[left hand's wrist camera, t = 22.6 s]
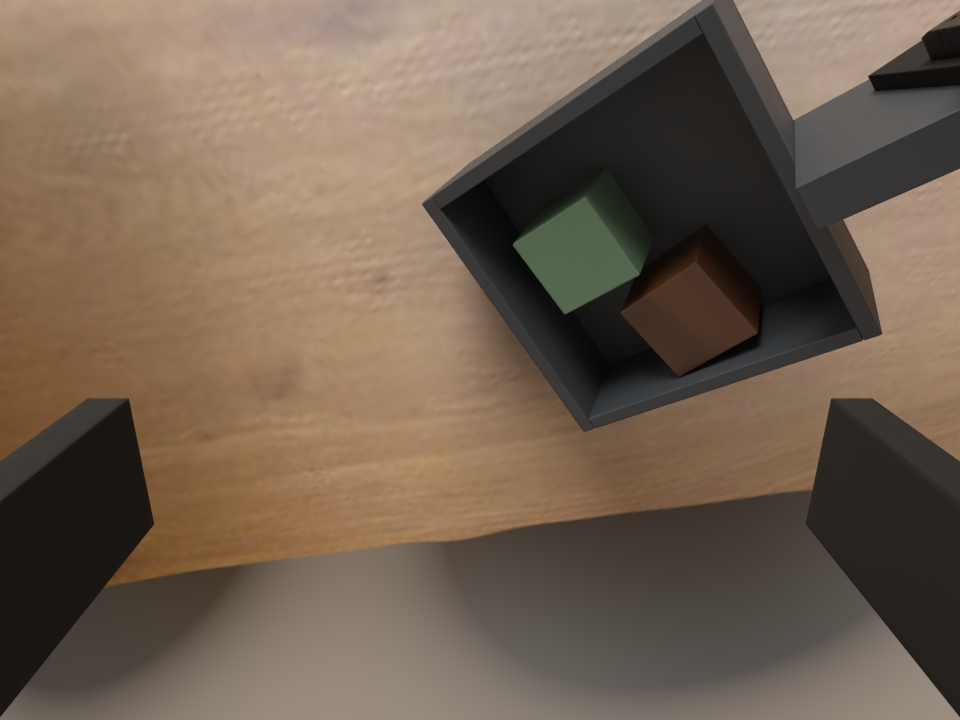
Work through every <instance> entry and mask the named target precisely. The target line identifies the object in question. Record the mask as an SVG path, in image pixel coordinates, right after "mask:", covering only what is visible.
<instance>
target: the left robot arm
mask: <svg viewBox="0 0 960 720" xmlns="http://www.w3.org/2000/svg"><path fill="white" fill-rule="evenodd" d="M153 525H154V521H153V516H152V511H151V506H150V501H149V496H148V491H147V487H146V482H145V477H144V472H143V467H142V462H141V457H140V452H139V447H138V442H137V437H136V432H135V427H134V422H133V417H132V413H131V408H130V403H129V399H86V400H85V401H84V402H82V403H81V404H79V405H78V406H77V407H75V408H74V409H73V410H71V411H70V412H68V413H67V414H66V415H64V416H63V417H61V418H60V419H59V420H57V421H56V422H54V423H53V424H52V425H50V426H49V427H48V428H46V429H45V430H43V431H42V432H41V433H39V434H38V435H36V436H35V437H34V438H32V439H31V440H30V441H28V442H27V443H25V444H24V445H23V446H21V447H20V448H18V449H17V450H16V451H14V452H13V453H11V454H10V455H9V456H7V457H6V458H5V459H3V460H2V461H0V717H1V715H2V714H3V713H4V712H5V710H6V709H7V708H8V707H9V705H10V704H11V703H12V702H13V700H14V699H15V698H16V697H17V695H18V694H19V693H20V692H21V690H22V689H23V688H24V687H25V685H26V684H27V683H28V681H29V680H30V679H31V678H32V676H33V675H34V674H35V673H36V672H37V670H38V669H39V668H40V666H41V665H42V664H43V663H44V661H45V660H46V659H47V658H48V656H49V655H50V654H51V653H52V651H53V650H54V649H55V648H56V646H57V645H58V644H59V643H60V641H61V640H62V639H63V638H64V636H65V635H66V634H67V633H68V631H69V630H70V629H71V628H72V626H73V625H74V624H75V623H76V621H77V620H78V619H79V618H80V616H81V615H82V614H83V613H84V611H85V610H86V609H87V608H88V606H89V605H90V604H91V603H92V601H93V600H94V599H95V598H96V596H97V595H98V594H99V593H100V591H101V590H102V589H103V588H104V586H105V585H106V584H107V583H108V581H109V580H110V579H111V578H112V576H113V575H114V574H115V573H116V571H117V570H118V569H119V568H120V566H121V565H122V564H123V562H124V561H125V560H126V559H127V557H128V556H129V555H130V554H131V552H132V551H133V550H134V549H135V547H136V546H137V545H138V544H139V542H140V541H141V540H142V539H143V537H144V536H145V535H146V534H147V532H148V531H149V530H150V529H151V527H152V526H153ZM806 525H807V526H808V527H809V529H810V530H811V531H812V532H813V534H814V535H815V536H816V537H817V539H818V540H819V541H820V542H821V544H822V545H823V546H824V547H825V549H826V550H827V551H828V552H829V554H830V555H831V556H832V557H833V559H834V560H835V561H836V562H837V564H838V565H839V566H840V568H841V569H842V570H843V571H844V573H845V574H846V575H847V576H848V577H849V579H850V580H851V581H852V583H853V584H854V585H855V586H856V588H857V589H858V590H859V591H860V592H861V594H862V595H863V596H864V598H865V599H866V600H867V601H868V603H869V604H870V605H871V606H872V608H873V609H874V610H875V611H876V613H877V614H878V615H879V616H880V618H881V619H882V620H883V621H884V623H885V624H886V625H887V626H888V628H889V629H890V630H891V631H892V633H893V634H894V635H895V636H896V638H897V639H898V640H899V641H900V643H901V644H902V645H903V646H904V648H905V649H906V650H907V651H908V653H909V654H910V655H911V656H912V658H913V659H914V660H915V661H916V663H917V664H918V665H919V666H920V668H921V669H922V670H923V671H924V673H925V674H926V675H927V677H928V678H929V679H930V680H931V682H932V683H933V684H934V685H935V687H936V688H937V689H938V690H939V692H940V693H941V694H942V695H943V697H944V698H945V699H946V700H947V702H948V703H949V704H950V705H951V707H952V708H953V709H954V710H955V712H956V713H957V714H958V715H959V717H960V461H958V460H957V459H955V458H954V457H953V456H951V455H950V454H949V453H947V452H946V451H944V450H943V449H942V448H940V447H939V446H937V445H936V444H935V443H933V442H932V441H930V440H929V439H928V438H926V437H925V436H924V435H922V434H921V433H919V432H918V431H917V430H915V429H914V428H912V427H911V426H910V425H908V424H907V423H906V422H904V421H903V420H901V419H900V418H899V417H897V416H896V415H894V414H893V413H892V412H890V411H889V410H887V409H886V408H885V407H883V406H882V405H881V404H879V403H878V402H876V401H875V400H874V399H831V403H830V408H829V413H828V417H827V422H826V427H825V432H824V437H823V442H822V447H821V452H820V457H819V462H818V467H817V472H816V477H815V482H814V487H813V492H812V497H811V502H810V506H809V511H808V516H807V521H806Z"/></svg>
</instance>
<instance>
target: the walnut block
mask: <svg viewBox="0 0 960 720" xmlns="http://www.w3.org/2000/svg"><path fill="white" fill-rule="evenodd" d="M760 299H761V288H760V287H759V285H758V284H757V283H756V282H755V281H754V280H753V278H752V277H751V276H750V275H749V274H748V273H747V271H746V270H745V269H744V268H743V267H742V266H741V264H740V263H739V262H738V261H737V260H736V259H735V257H734V256H733V255H732V254H731V253H730V252H729V251H728V249H727V248H726V247H725V246H724V245H723V244H722V242H721V241H720V240H719V239H718V238H717V237H716V235H715V234H714V233H713V232H712V231H711V230H710V228H709V227H708V226H707V225H704V226H702V227H701V228H700V229H698V230H697V231H695V232H694V233H693V234H691V235H690V236H688V237H687V238H686V239H684V240H683V241H681V242H680V243H678V244H677V245H676V246H674V247H673V248H671V249H670V250H669V251H667V252H666V253H664V254H663V255H662V256H660V257H659V258H657V259H656V260H654V261H653V262H652V263H650V264H649V265H647V266H646V267H645V268H643V269H642V270H641V273H640V275H639V276H637V277H635V278H634V281H633V283H632V286H631V288H630V291H629V293H628V296H627V298H626V301H625V303H624V305H623V308H622V310H621V315H622V316H623V317H624V318H625V319H626V320H627V321H628V322H629V323H630V325H631V326H632V327H633V328H634V329H635V330H636V331H637V332H638V333H639V334H640V335H641V336H642V338H643V339H644V340H645V341H646V342H647V343H648V344H649V345H650V346H651V347H652V348H653V350H654V351H655V352H656V353H657V354H658V355H659V356H660V357H661V358H662V359H663V360H664V361H665V363H666V364H667V365H668V366H669V367H670V368H671V369H672V370H673V371H674V372H675V373H676V375H677V376H678V377H680V376H681V375H683V374H685V373H687V372H689V371H690V370H692V369H694V368H696V367H698V366H700V365H701V364H703V363H705V362H707V361H709V360H710V359H712V358H714V357H716V356H718V355H719V354H721V353H723V352H725V351H727V350H728V349H730V348H732V347H734V346H736V345H738V344H739V343H741V342H743V341H745V340H747V339H748V338H750V337H752V336H754V335H756V334H757V333H758V327H759V313H760Z"/></svg>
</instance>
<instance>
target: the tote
mask: <svg viewBox="0 0 960 720" xmlns="http://www.w3.org/2000/svg"><path fill="white" fill-rule="evenodd" d="M604 167H607V168H608V170H609V171H610V173H611V174H612V176H613V177H614V179H615V180H616V181H617V183H618V184H619V186H620V187H621V189H622V190H623V192H624V193H625V195H626V196H627V198H628V199H629V201H630V202H631V204H632V205H633V206H634V208H635V209H636V211H637V212H638V214H639V215H640V217H641V218H642V220H643V221H644V223H645V224H646V226H647V227H648V229H649V230H650V232H651V233H652V234H653V236H654V240H653V242H652V245H651V247H650V250H649V252H648V255H647V257H646V260H645V262H644V265H643V267H642V269H643V268H645V267H646V266H647V265H649V264H650V263H652V262H653V261H654V260H656V259H657V258H659V257H660V256H662V255H663V254H664V253H666V252H667V251H669V250H670V249H671V248H673V247H674V246H676V245H677V244H678V243H680V242H681V241H683V240H684V239H686V238H687V237H688V236H690V235H691V234H693V233H694V232H695V231H697V230H698V229H700V228H701V227H702V226H704V225H707V226H708V227H709V228H710V230H711V231H712V232H713V233H714V234H715V235H716V237H717V238H718V239H719V240H720V241H721V242H722V244H723V245H724V246H725V247H726V248H727V249H728V251H729V252H730V253H731V254H732V255H733V256H734V257H735V259H736V260H737V261H738V262H739V263H740V264H741V266H742V267H743V268H744V269H745V270H746V271H747V273H748V274H749V275H750V276H751V277H752V278H753V280H754V281H755V282H756V283H757V284H758V285H759V287H760V288H761V299H760V313H759V327H758V333H757V334H756V335H754V336H752V337H750V338H748V339H747V340H745V341H743V342H741V343H739V344H738V345H736V346H734V347H732V348H730V349H728V350H727V351H725V352H723V353H721V354H719V355H718V356H716V357H714V358H712V359H710V360H709V361H707V362H705V363H703V364H701V365H700V366H698V367H696V368H694V369H692V370H690V371H689V372H687V373H685V374H683V375H681V376H680V377H678V376H677V375H676V373H675V372H674V371H673V370H672V369H671V368H670V367H669V366H668V365H667V364H666V363H665V361H664V360H663V359H662V358H661V357H660V356H659V355H658V354H657V353H656V352H655V351H654V350H653V348H652V347H651V346H650V345H649V344H648V343H647V342H646V341H645V340H644V339H643V338H642V336H641V335H640V334H639V333H638V332H637V331H636V330H635V329H634V328H633V327H632V326H631V325H630V323H629V322H628V321H627V320H626V319H625V318H624V317H623V316H622V315H621V310H622V308H623V305H624V303H625V301H626V298H627V296H628V293H629V291H630V288H631V286H632V283H633V281H634V278H633V279H631V280H630V281H628V282H626V283H624V284H622V285H620V286H618V287H616V288H615V289H613V290H611V291H609V292H607V293H605V294H603V295H601V296H599V297H598V298H596V299H594V300H592V301H590V302H588V303H586V304H584V305H583V306H581V307H579V308H577V309H575V310H573V311H571V312H569V313H567V314H564V313H563V312H562V310H561V309H560V308H559V306H558V305H557V304H556V302H555V301H554V300H553V298H552V297H551V296H550V294H549V293H548V292H547V290H546V289H545V288H544V286H543V285H542V284H541V282H540V281H539V280H538V278H537V277H536V276H535V274H534V273H533V272H532V270H531V269H530V268H529V266H528V265H527V264H526V262H525V261H524V260H523V258H522V257H521V256H520V254H519V253H518V252H517V250H516V249H515V248H514V246H513V244H514V242H515V241H516V240H517V238H518V237H519V236H520V235H521V233H522V232H523V231H524V230H525V228H526V227H527V226H528V225H529V223H530V222H531V221H532V219H533V218H534V217H535V216H536V214H537V213H538V212H539V211H540V210H542V209H543V208H545V207H546V206H548V205H549V204H551V203H552V202H553V201H555V200H556V199H558V198H559V197H561V196H562V195H564V194H565V193H567V192H568V191H570V190H571V189H573V188H574V187H576V186H577V185H579V184H580V183H582V182H583V181H585V180H586V179H588V178H589V177H591V176H592V175H594V174H595V173H597V172H598V171H600V170H601V169H603V168H604ZM958 169H960V85H952V86H938V87H924V88H910V89H896V90H882V91H875V90H874V88H873V86H872V83H871V81H870V79H869V80H868V81H866V82H864V83H862V84H860V85H858V86H856V87H855V88H853V89H851V90H849V91H847V92H845V93H843V94H842V95H840V96H838V97H836V98H834V99H832V100H830V101H829V102H827V103H825V104H823V105H821V106H819V107H817V108H816V109H814V110H812V111H810V112H808V113H806V114H805V115H803V116H801V117H799V118H797V119H795V120H794V121H793V119H792V117H791V115H790V113H789V111H788V109H787V107H786V105H785V103H784V101H783V99H782V97H781V95H780V93H779V91H778V89H777V87H776V85H775V83H774V81H773V79H772V77H771V75H770V73H769V71H768V69H767V67H766V65H765V63H764V61H763V59H762V57H761V55H760V53H759V51H758V49H757V47H756V45H755V43H754V41H753V39H752V37H751V35H750V33H749V31H748V29H747V27H746V25H745V23H744V21H743V19H742V17H741V15H740V13H739V11H738V9H737V7H736V5H735V3H734V1H733V0H702V1H701V2H699V3H698V4H697V5H695V6H694V7H692V8H691V9H689V10H688V11H687V12H685V13H684V14H682V15H681V16H679V17H678V18H677V19H675V20H674V21H672V22H671V23H669V24H668V25H667V26H665V27H664V28H662V29H661V30H659V31H658V32H657V33H655V34H654V35H652V36H651V37H649V38H648V39H647V40H645V41H644V42H642V43H641V44H639V45H638V46H637V47H635V48H634V49H632V50H631V51H629V52H628V53H627V54H625V55H624V56H622V57H621V58H619V59H618V60H617V61H615V62H614V63H612V64H611V65H609V66H608V67H607V68H605V69H604V70H602V71H601V72H599V73H598V74H597V75H595V76H594V77H592V78H591V79H589V80H588V81H587V82H585V83H584V84H582V85H581V86H579V87H578V88H577V89H575V90H574V91H572V92H571V93H569V94H568V95H567V96H565V97H564V98H562V99H561V100H559V101H558V102H557V103H555V104H554V105H552V106H551V107H549V108H548V109H547V110H545V111H544V112H542V113H541V114H539V115H538V116H537V117H535V118H534V119H532V120H531V121H529V122H528V123H527V124H525V125H524V126H522V127H521V128H519V129H518V130H517V131H515V132H514V133H512V134H511V135H509V136H508V137H507V138H505V139H504V140H502V141H501V142H500V143H498V144H497V145H495V146H494V147H492V148H491V149H490V150H488V151H487V152H485V153H484V154H482V155H481V156H480V157H478V158H477V159H475V160H474V161H472V162H471V163H470V164H468V165H467V166H466V167H465V168H463V169H462V170H461V171H460V172H459V173H457V174H456V175H455V176H454V177H453V178H452V179H450V180H449V181H448V182H447V183H446V184H444V185H443V186H442V187H441V188H440V189H438V190H437V191H436V192H435V193H434V194H433V195H431V196H430V197H429V198H428V199H427V200H425V201H424V202H423V203H422V205H423V206H424V208H425V209H426V211H427V212H428V213H429V215H430V216H431V218H432V219H433V220H434V222H435V223H436V225H437V226H438V227H439V229H440V230H441V232H442V233H443V235H444V236H445V237H446V239H447V240H448V242H449V243H450V244H451V246H452V247H453V249H454V250H455V251H456V253H457V254H458V256H459V257H460V258H461V260H462V261H463V263H464V264H465V265H466V267H467V268H468V270H469V271H470V273H471V274H472V275H473V277H474V278H475V280H476V281H477V282H478V284H479V285H480V287H481V288H482V289H483V291H484V292H485V294H486V295H487V296H488V298H489V299H490V301H491V302H492V303H493V305H494V306H495V308H496V309H497V310H498V312H499V313H500V315H501V316H502V318H503V319H504V320H505V322H506V323H507V325H508V326H509V327H510V329H511V330H512V332H513V333H514V334H515V336H516V337H517V339H518V340H519V341H520V343H521V344H522V346H523V347H524V348H525V350H526V351H527V353H528V354H529V355H530V357H531V358H532V360H533V361H534V363H535V364H536V365H537V367H538V368H539V370H540V371H541V372H542V374H543V375H544V377H545V378H546V379H547V381H548V382H549V384H550V385H551V386H552V388H553V389H554V391H555V392H556V393H557V395H558V396H559V398H560V399H561V400H562V402H563V403H564V405H565V406H566V408H567V409H568V410H569V412H570V413H571V415H572V416H573V417H574V419H575V420H576V422H577V423H578V424H579V426H580V427H581V429H582V430H583V431H584V432H585V431H588V430H591V429H594V428H598V427H601V426H604V425H607V424H610V423H613V422H616V421H619V420H622V419H625V418H628V417H631V416H634V415H637V414H640V413H643V412H646V411H650V410H653V409H656V408H659V407H662V406H665V405H668V404H671V403H674V402H677V401H680V400H683V399H686V398H689V397H692V396H695V395H698V394H701V393H705V392H708V391H711V390H714V389H717V388H720V387H723V386H726V385H729V384H732V383H735V382H738V381H741V380H744V379H747V378H750V377H753V376H756V375H760V374H763V373H766V372H769V371H772V370H775V369H778V368H781V367H784V366H787V365H790V364H793V363H796V362H799V361H802V360H805V359H808V358H811V357H814V356H818V355H821V354H824V353H827V352H830V351H833V350H836V349H839V348H842V347H845V346H848V345H851V344H854V343H857V342H860V341H863V339H864V340H867V339H870V338H873V337H876V336H879V335H881V334H882V331H881V326H880V322H879V317H878V312H877V307H876V303H875V298H874V293H873V288H872V284H871V279H870V274H869V270H868V268H867V266H866V264H865V262H864V260H863V258H862V256H861V254H860V252H859V250H858V248H857V246H856V244H855V242H854V240H853V238H852V236H851V234H850V232H849V230H848V228H847V226H846V224H845V222H844V220H843V219H845V218H847V217H849V216H852V215H854V214H856V213H859V212H861V211H863V210H865V209H868V208H870V207H872V206H875V205H877V204H879V203H882V202H884V201H886V200H888V199H891V198H893V197H895V196H898V195H900V194H902V193H905V192H907V191H909V190H911V189H914V188H916V187H918V186H921V185H923V184H925V183H928V182H930V181H932V180H934V179H937V178H939V177H941V176H944V175H946V174H948V173H951V172H953V171H955V170H958Z"/></svg>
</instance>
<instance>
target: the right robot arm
mask: <svg viewBox="0 0 960 720" xmlns="http://www.w3.org/2000/svg"><path fill="white" fill-rule="evenodd" d="M868 77H869V79H870V81H871V83H872V86H873V88H874V90H875V91H882V90H896V89H910V88H924V87H938V86H952V85H960V11H959V12H957V13H955V14H954V15H952V16H951V17H949V18H948V19H946V20H945V21H943V22H942V23H940V24H939V25H937V26H936V27H934V28H933V29H931V30H930V31H928V32H927V33H926V34H925V35H924V36H923V37H922V41H920V42H919V43H917V44H916V45H914V46H913V47H911V48H910V49H908V50H907V51H905V52H904V53H902V54H901V55H899V56H898V57H896V58H895V59H893V60H892V61H890V62H889V63H887V64H886V65H884V66H883V67H881V68H880V69H878V70H877V71H875V72H874V73H872V74H871V75H869V76H868Z"/></svg>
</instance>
